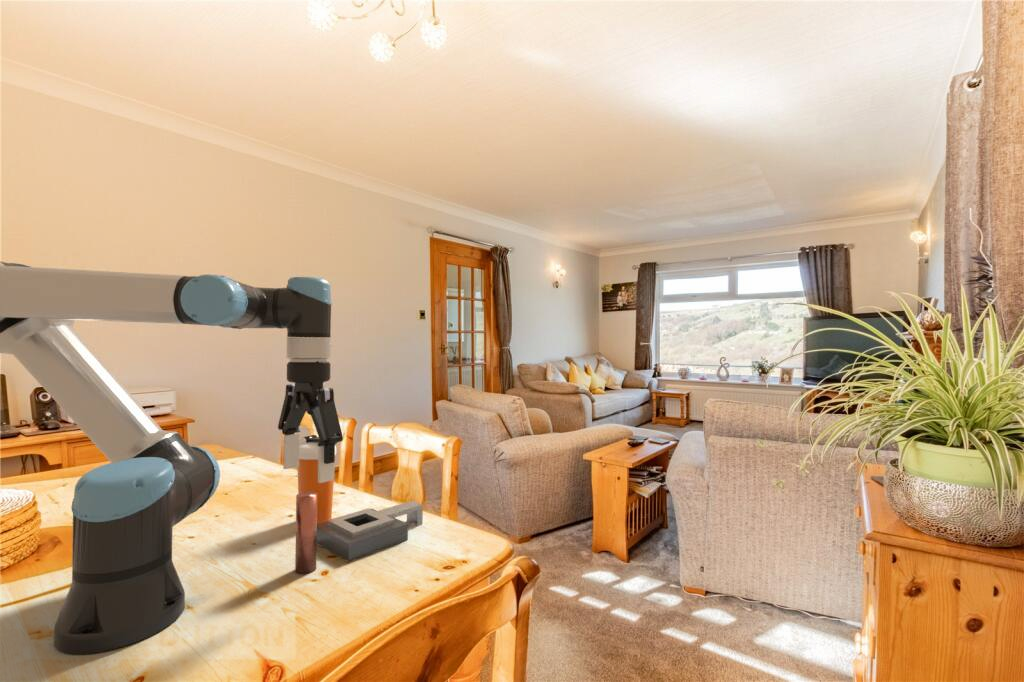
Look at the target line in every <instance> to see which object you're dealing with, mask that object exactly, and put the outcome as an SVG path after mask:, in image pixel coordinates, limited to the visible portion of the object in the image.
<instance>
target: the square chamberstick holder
mask: <svg viewBox="0 0 1024 682" xmlns="http://www.w3.org/2000/svg"><path fill="white" fill-rule="evenodd" d="M370 509H372V510H374V511H377V510H376V509H374V508H370ZM393 519H395V524H393V525H390V526H387V527H384V528H381V529H378V530H375V531H372V532H369V533H366V534H363V535H360V536H357V537H354V538H352V537H350V536H348V535H346V534H344V533H342V532H340V531H338V530H336V529H334V528H332V527H330V526H328V525H327V522H323V523H320V524H317V545H318V546H320V547H322V548H324V549H325V550H327V551H329V552H331V553H332V554H334V555H335V556H337V557H339V558H341V559H342V560H345V561H347V562H348V563H349V562H352V561H354V560H357V559H360V558H363V557H365V556H367V555H370V554H374V553H377V552H379V551H381V550H385V549H386V548H390V547H392V546H395V545H397V544H401V543H403V542H405V541H408V540H409V526H408V525H409V523H408V522H405V521H403V520H400V519H399V518H397V517H395V518H393ZM370 522H373V521H371V520H369V519H367V518H363V519H360V520H357V521H353V522H350V524H353V525H355V526H360V525H363V524H366V523H370Z"/></svg>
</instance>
